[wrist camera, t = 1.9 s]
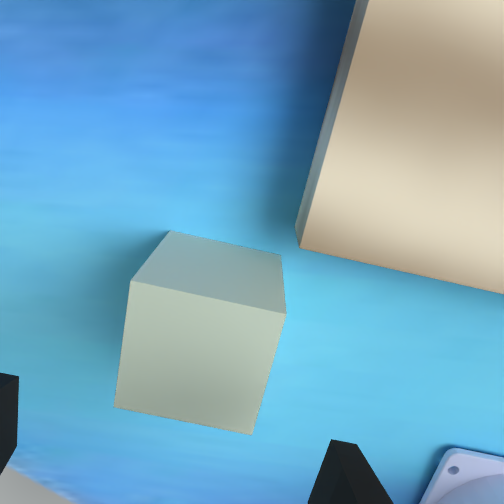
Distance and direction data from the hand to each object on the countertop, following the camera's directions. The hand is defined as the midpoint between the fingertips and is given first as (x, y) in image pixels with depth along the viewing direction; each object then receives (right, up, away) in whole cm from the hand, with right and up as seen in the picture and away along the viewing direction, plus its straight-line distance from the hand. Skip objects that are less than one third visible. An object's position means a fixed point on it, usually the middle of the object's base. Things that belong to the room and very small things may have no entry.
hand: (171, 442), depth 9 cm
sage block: (0, +3, +8) cm, 8 cm away
